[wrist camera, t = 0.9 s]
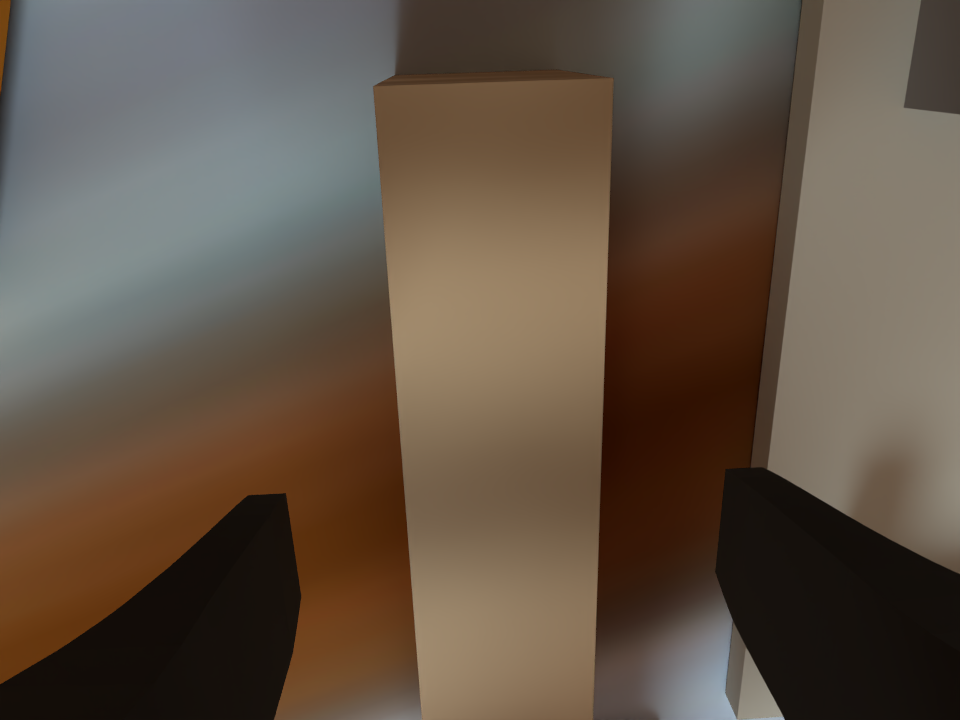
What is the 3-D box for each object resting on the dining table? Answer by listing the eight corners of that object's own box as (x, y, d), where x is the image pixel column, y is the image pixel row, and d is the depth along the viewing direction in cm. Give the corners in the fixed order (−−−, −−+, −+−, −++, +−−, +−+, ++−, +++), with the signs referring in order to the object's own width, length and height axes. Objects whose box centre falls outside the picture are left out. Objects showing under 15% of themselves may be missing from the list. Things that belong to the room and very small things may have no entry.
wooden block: (552, 592, 22) (591, 775, 16) (430, 599, 22) (427, 786, 16) (555, 69, 17) (613, 78, 11) (395, 74, 17) (373, 85, 11)
